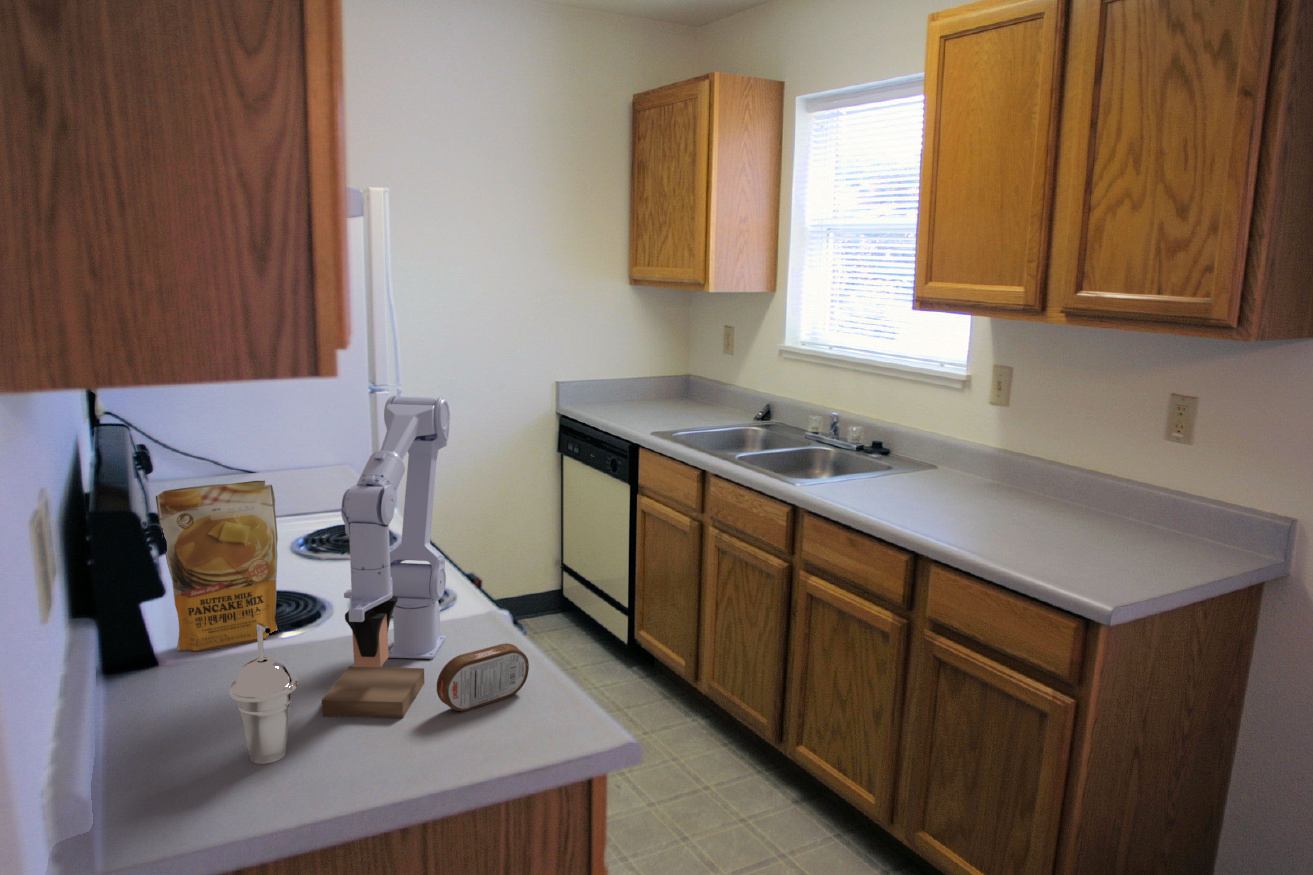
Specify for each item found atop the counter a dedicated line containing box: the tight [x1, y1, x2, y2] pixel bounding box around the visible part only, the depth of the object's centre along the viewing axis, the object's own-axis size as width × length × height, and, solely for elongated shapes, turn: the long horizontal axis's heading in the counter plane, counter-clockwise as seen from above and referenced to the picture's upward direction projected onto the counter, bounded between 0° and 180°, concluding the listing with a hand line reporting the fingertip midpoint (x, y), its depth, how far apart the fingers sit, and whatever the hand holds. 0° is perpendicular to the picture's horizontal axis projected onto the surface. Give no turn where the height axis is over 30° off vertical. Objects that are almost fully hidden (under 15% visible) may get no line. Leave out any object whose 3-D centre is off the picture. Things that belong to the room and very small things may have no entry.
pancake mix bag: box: [155, 480, 279, 652], centre depth 165 cm, size 7×19×28 cm, turn 122°
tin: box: [436, 642, 530, 712], centre depth 145 cm, size 15×3×8 cm, turn 130°
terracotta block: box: [351, 614, 389, 667], centre depth 145 cm, size 4×4×7 cm
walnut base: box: [321, 665, 425, 719], centre depth 146 cm, size 12×12×2 cm
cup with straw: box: [229, 622, 299, 765], centre depth 127 cm, size 8×9×20 cm
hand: (373, 649), depth 145 cm, fingers closed on terracotta block, 4 cm apart
